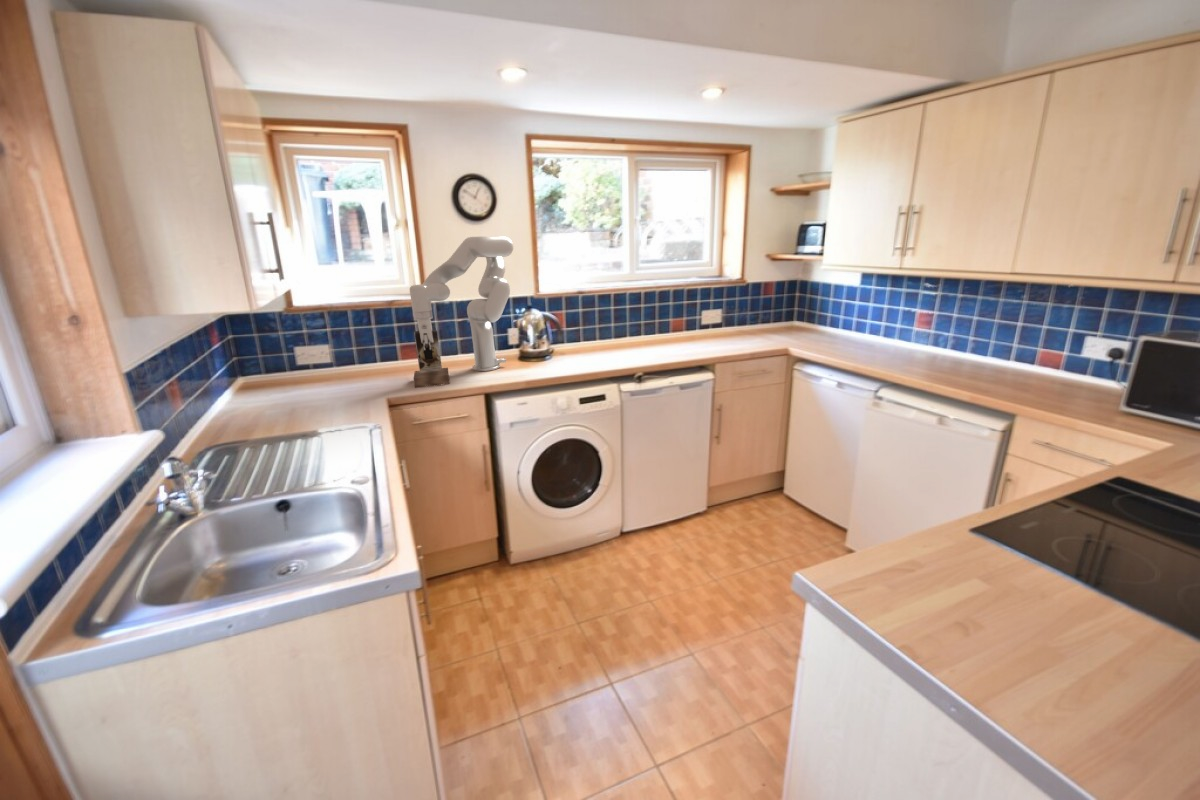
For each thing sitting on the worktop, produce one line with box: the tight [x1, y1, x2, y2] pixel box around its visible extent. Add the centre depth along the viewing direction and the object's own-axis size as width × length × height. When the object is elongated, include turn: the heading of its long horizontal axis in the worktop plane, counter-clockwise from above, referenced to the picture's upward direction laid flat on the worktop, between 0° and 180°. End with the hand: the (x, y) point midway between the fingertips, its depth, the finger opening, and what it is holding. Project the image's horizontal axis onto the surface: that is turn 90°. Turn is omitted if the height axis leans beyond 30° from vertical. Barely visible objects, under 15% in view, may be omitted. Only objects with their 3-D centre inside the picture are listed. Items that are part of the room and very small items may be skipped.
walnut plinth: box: [413, 367, 451, 389], centre depth 226 cm, size 14×13×4 cm
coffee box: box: [413, 329, 443, 371], centre depth 223 cm, size 9×6×16 cm
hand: (429, 357), depth 224 cm, fingers closed on coffee box, 6 cm apart
